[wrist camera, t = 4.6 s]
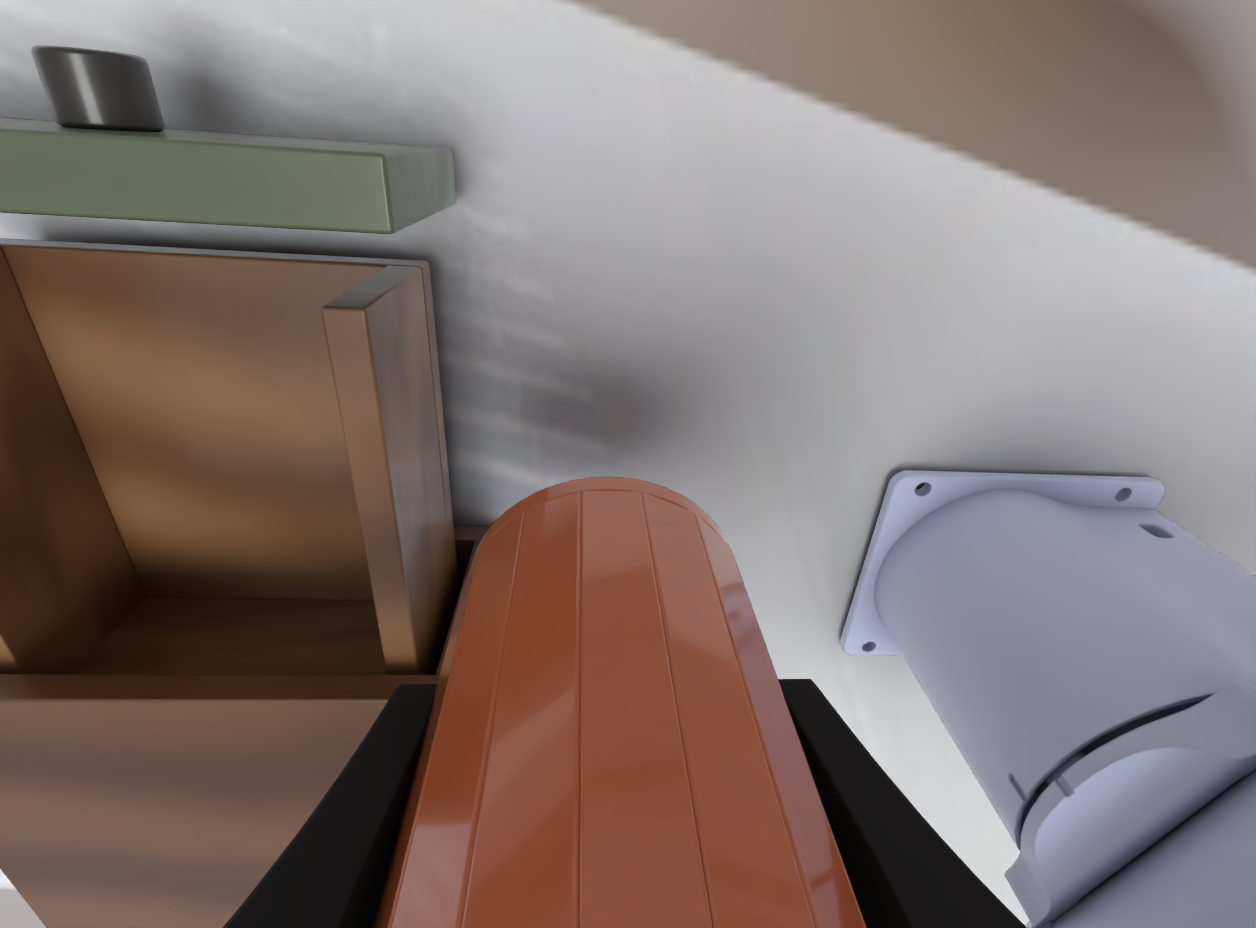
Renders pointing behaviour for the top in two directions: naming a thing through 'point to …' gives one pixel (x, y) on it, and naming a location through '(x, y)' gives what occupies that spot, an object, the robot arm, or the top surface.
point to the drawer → (216, 401)
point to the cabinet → (172, 782)
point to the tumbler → (611, 737)
